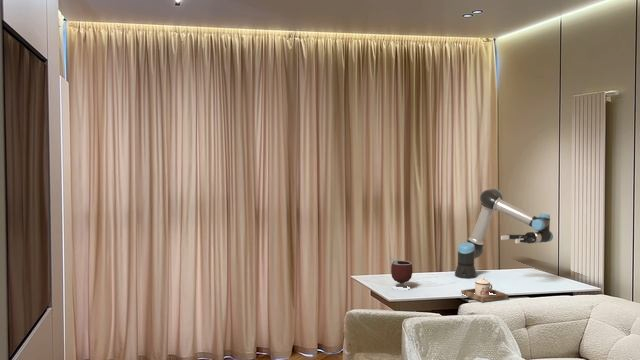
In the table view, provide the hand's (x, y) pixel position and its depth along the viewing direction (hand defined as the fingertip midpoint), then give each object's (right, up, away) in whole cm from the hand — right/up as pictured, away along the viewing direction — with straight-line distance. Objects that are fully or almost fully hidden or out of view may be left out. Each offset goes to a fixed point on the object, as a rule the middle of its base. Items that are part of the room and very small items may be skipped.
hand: (508, 239), depth 401 cm
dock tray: (-23, -34, -25) cm, 47 cm away
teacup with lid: (-23, -33, -24) cm, 47 cm away
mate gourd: (-73, -32, -4) cm, 79 cm away
